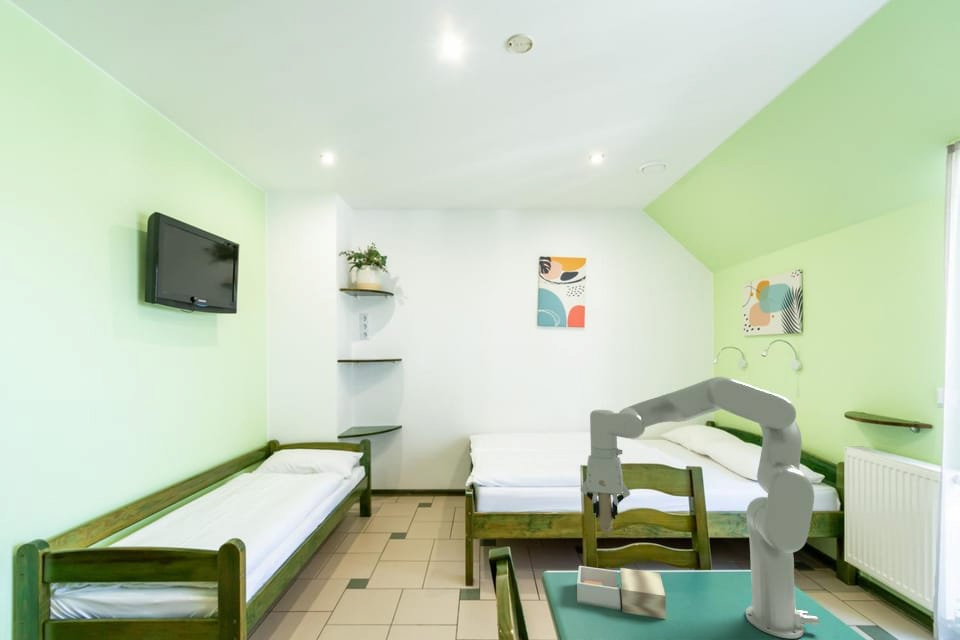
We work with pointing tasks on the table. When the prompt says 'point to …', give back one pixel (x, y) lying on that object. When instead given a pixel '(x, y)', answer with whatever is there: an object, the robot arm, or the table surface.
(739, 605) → the table surface
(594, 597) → the box
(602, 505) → the handle
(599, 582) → the tile
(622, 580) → the beige textured block
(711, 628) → the table surface
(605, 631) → the table surface
